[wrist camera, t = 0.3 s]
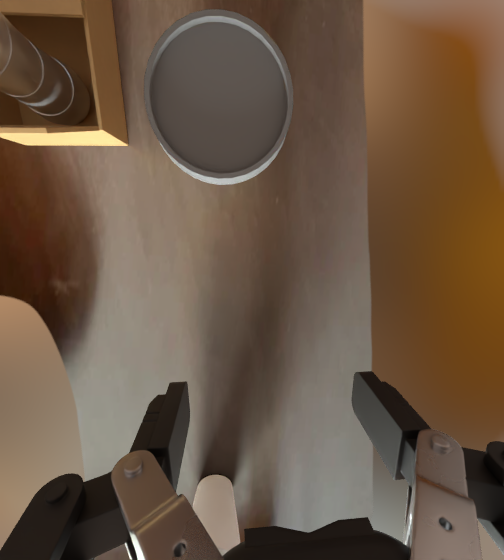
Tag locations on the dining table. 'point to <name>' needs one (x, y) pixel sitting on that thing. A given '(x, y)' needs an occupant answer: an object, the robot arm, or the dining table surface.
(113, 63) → the carton
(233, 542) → the cup
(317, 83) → the dining table surface
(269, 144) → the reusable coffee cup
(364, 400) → the robot arm
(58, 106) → the silver metal bottle
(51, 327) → the dining table surface
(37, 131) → the flap
